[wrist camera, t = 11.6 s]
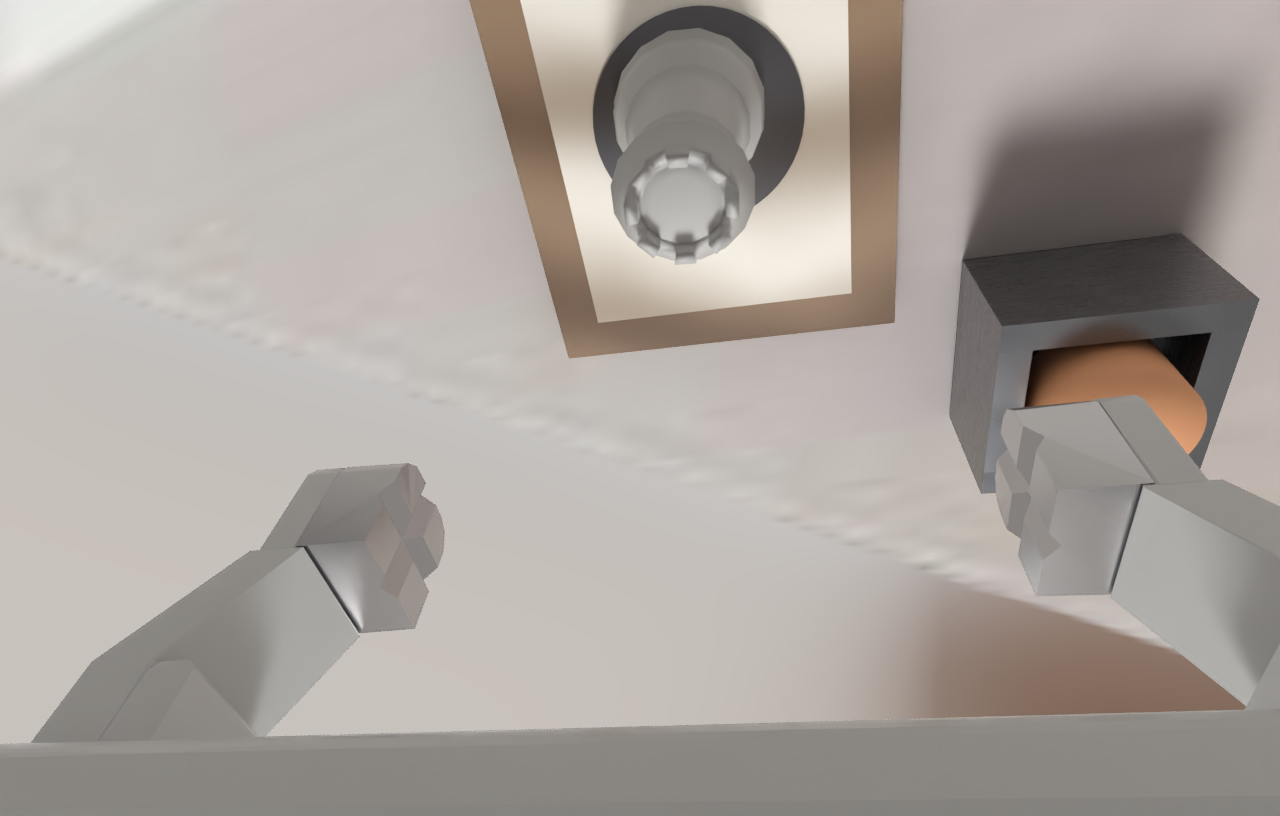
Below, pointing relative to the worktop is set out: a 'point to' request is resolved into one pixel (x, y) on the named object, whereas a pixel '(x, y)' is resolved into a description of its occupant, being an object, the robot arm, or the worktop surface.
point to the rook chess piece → (686, 144)
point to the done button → (1119, 383)
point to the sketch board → (782, 163)
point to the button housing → (1090, 326)
